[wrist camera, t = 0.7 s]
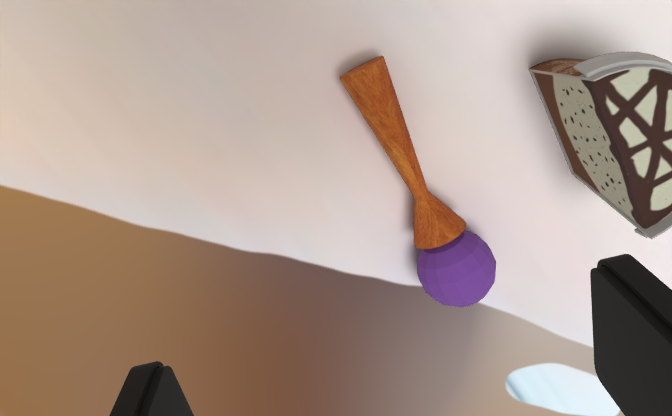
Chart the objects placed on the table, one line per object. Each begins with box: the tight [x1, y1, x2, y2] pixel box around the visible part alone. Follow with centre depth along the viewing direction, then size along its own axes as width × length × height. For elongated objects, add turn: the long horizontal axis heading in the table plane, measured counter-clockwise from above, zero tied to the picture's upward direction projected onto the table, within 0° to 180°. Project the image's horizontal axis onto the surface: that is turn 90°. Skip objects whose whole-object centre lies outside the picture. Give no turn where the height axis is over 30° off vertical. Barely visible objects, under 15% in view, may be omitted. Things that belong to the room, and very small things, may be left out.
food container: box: [529, 52, 672, 239], centre depth 35 cm, size 12×6×10 cm, turn 30°
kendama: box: [340, 56, 496, 307], centre depth 39 cm, size 6×6×20 cm
